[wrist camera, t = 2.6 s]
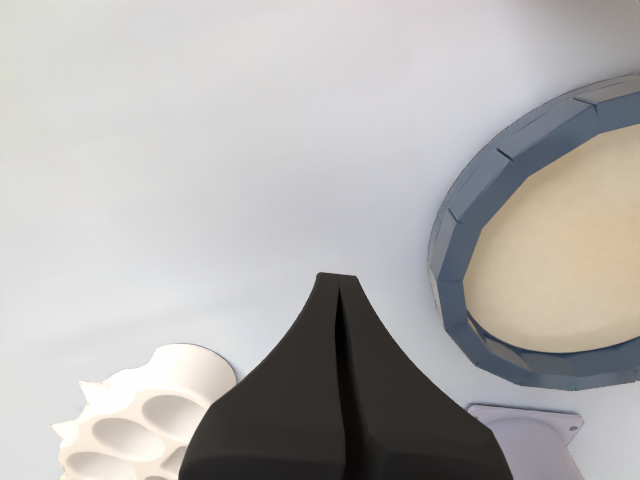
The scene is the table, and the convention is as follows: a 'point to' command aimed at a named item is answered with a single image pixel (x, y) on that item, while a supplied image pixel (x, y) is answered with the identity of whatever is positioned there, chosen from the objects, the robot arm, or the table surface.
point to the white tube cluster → (143, 416)
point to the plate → (548, 245)
